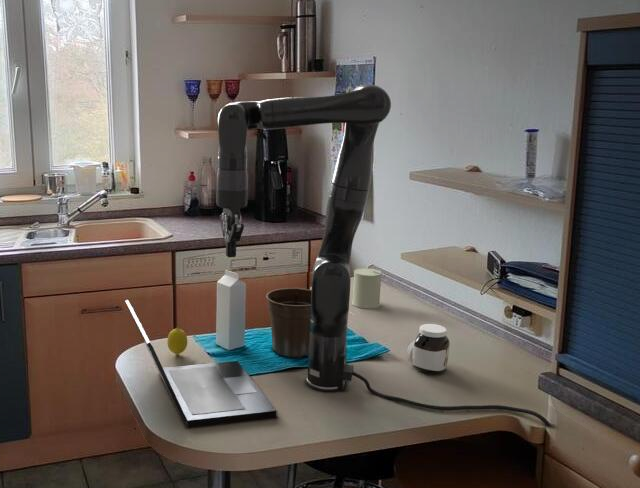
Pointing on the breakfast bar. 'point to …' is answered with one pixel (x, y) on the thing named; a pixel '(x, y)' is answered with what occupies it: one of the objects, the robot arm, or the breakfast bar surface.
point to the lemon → (177, 341)
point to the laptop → (218, 394)
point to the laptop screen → (156, 362)
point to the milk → (230, 311)
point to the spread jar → (430, 349)
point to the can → (366, 288)
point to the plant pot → (290, 321)
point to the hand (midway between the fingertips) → (230, 256)
